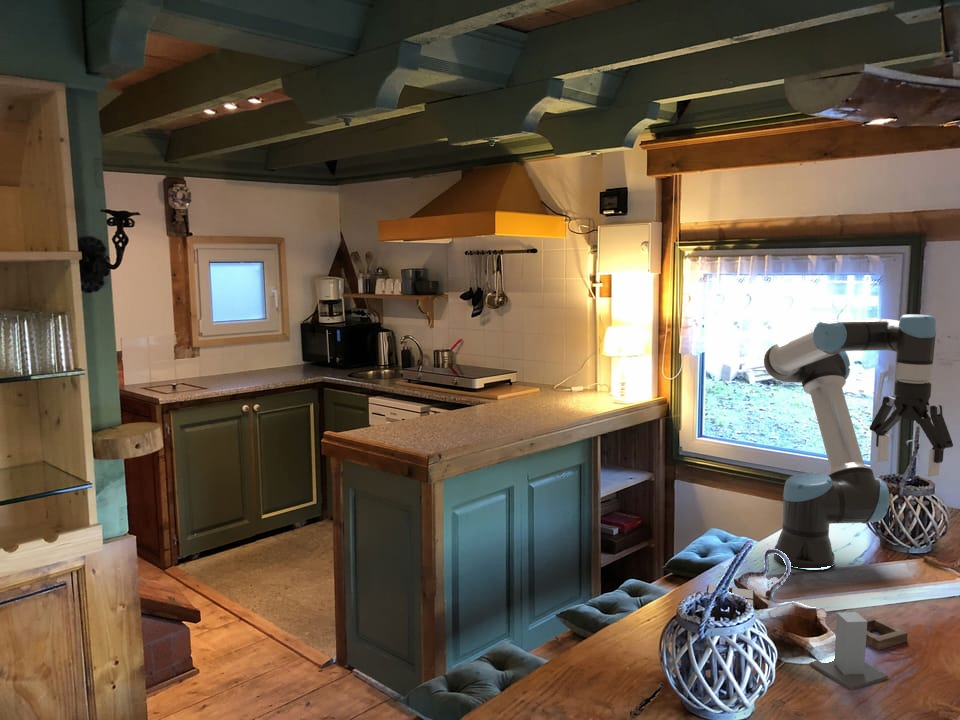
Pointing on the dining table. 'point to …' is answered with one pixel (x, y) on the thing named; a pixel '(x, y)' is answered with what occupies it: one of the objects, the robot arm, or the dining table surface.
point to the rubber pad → (850, 675)
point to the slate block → (850, 643)
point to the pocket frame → (890, 631)
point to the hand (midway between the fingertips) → (907, 468)
